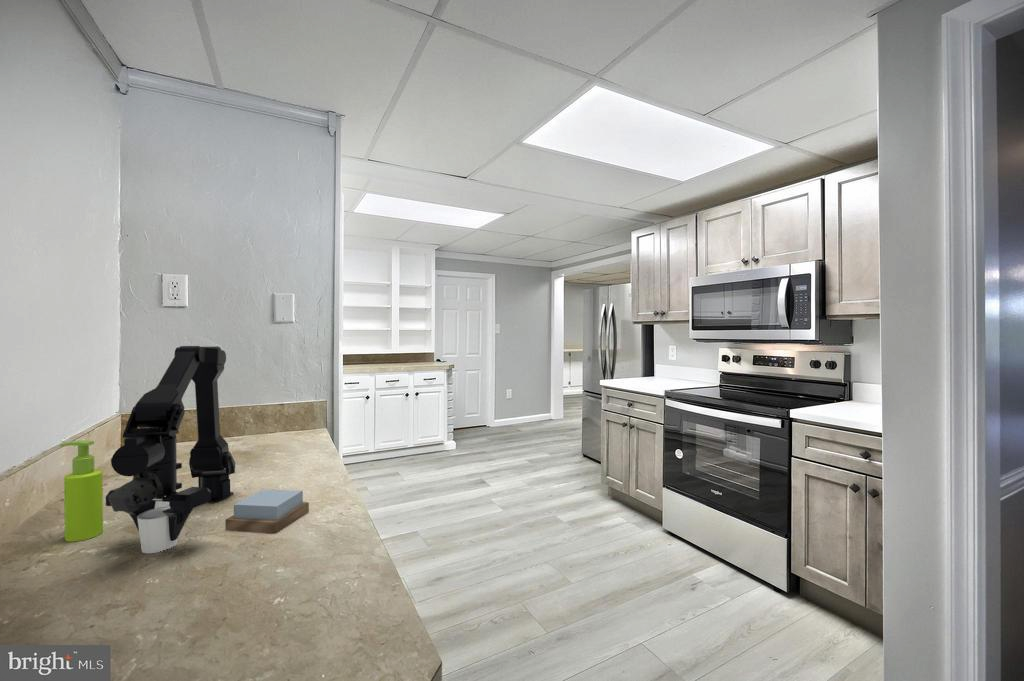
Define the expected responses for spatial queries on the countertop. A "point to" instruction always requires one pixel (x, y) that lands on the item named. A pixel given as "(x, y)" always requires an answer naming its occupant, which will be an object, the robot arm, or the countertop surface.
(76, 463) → the soap dispenser
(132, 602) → the countertop surface
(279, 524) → the tower base
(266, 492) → the tower top
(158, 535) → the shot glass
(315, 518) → the countertop surface
